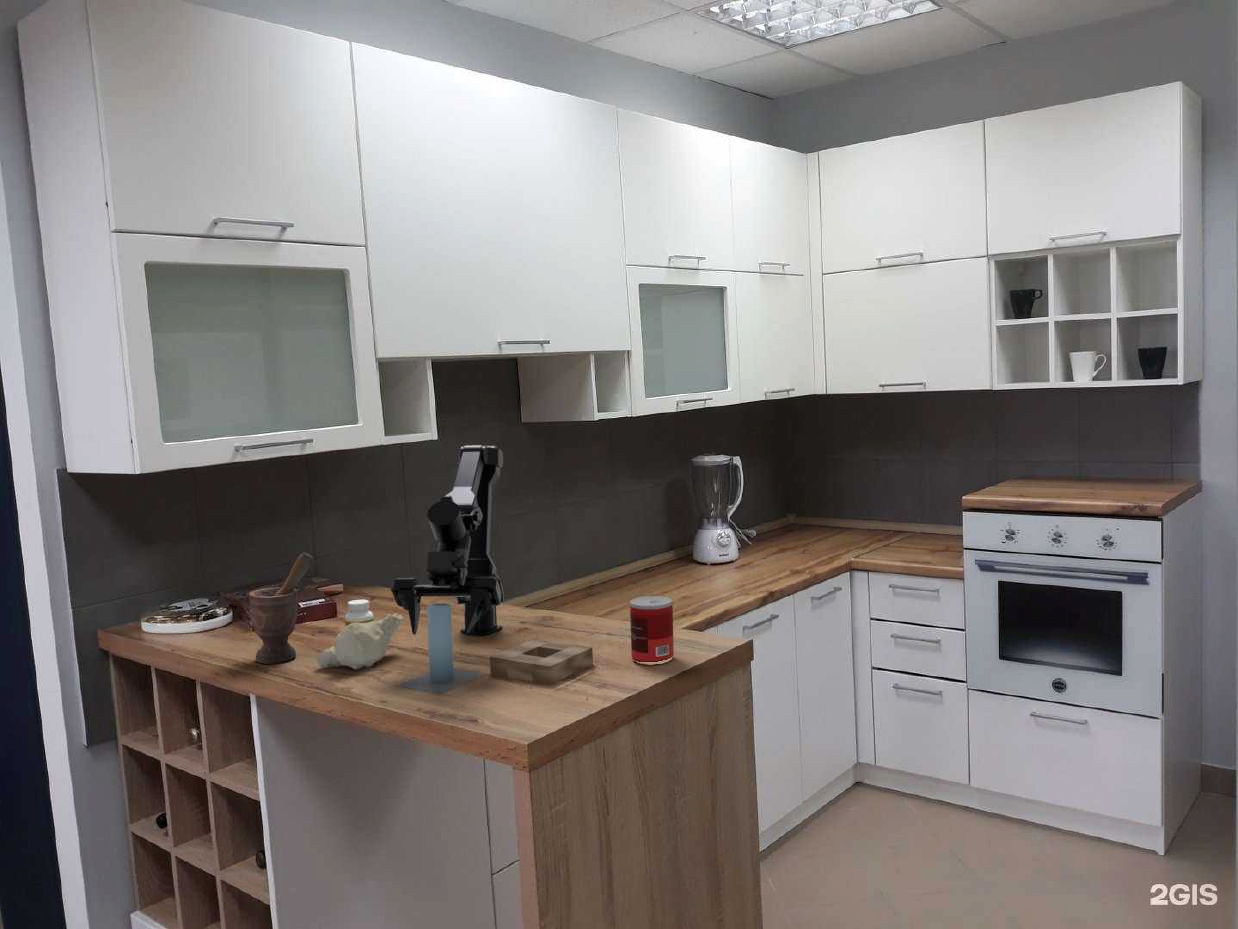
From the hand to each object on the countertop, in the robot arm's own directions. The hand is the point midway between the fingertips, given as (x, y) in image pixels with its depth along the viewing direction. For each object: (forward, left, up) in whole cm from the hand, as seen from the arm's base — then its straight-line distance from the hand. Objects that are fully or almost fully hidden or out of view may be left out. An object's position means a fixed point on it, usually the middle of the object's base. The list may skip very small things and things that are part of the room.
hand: (440, 633), depth 172 cm
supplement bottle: (-8, -28, -9) cm, 30 cm away
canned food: (-28, +26, -9) cm, 39 cm away
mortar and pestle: (+2, -38, -9) cm, 39 cm away
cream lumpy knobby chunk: (-3, -21, -9) cm, 23 cm away
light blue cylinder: (0, 0, -8) cm, 8 cm away
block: (-13, +12, -9) cm, 20 cm away
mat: (0, 0, -9) cm, 9 cm away
